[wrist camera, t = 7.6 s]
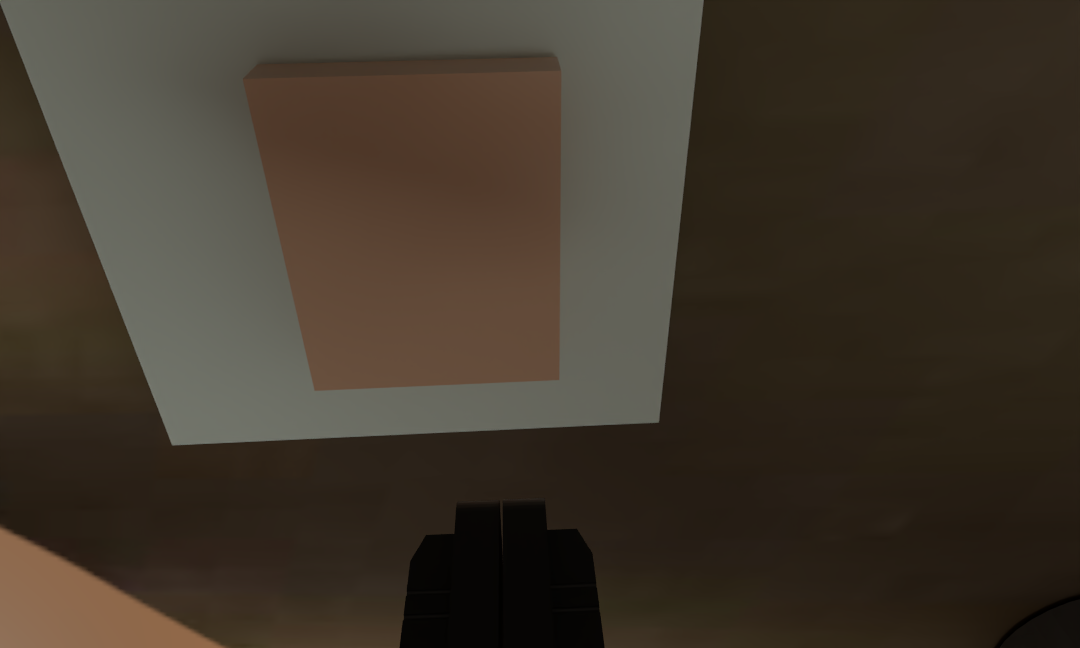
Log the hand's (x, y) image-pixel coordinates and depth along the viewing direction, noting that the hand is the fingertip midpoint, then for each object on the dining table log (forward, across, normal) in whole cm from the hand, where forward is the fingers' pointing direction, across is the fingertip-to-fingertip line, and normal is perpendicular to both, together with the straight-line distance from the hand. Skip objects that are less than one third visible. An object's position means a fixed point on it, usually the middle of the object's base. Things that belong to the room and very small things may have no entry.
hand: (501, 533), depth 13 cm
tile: (+11, -2, 0) cm, 11 cm away
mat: (+13, +3, 0) cm, 13 cm away
